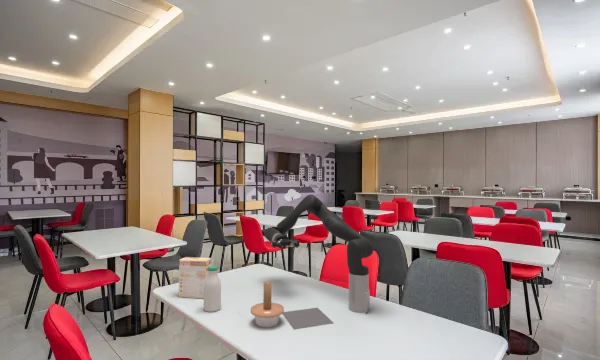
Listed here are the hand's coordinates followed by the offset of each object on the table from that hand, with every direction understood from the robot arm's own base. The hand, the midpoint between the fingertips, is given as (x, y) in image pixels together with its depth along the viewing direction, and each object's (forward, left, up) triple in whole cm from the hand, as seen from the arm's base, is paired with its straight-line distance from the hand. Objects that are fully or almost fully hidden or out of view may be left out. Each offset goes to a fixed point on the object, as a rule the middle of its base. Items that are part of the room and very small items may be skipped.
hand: (289, 246), depth 160 cm
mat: (-16, +14, -28) cm, 35 cm away
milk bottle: (+28, +24, -28) cm, 46 cm away
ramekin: (-2, +25, -28) cm, 38 cm away
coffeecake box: (+48, +14, -28) cm, 58 cm away
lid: (-2, +25, -23) cm, 34 cm away
